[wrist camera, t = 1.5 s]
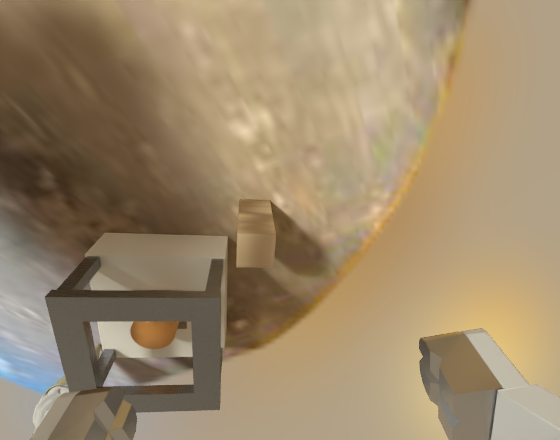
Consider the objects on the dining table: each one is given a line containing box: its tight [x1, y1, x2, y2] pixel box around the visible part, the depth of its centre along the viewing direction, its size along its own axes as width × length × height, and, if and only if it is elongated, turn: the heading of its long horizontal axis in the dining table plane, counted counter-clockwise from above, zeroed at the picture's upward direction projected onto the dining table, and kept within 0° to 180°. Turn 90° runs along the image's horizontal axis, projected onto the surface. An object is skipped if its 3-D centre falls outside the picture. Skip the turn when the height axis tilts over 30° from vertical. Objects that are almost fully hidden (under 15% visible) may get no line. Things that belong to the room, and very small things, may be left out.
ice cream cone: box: [32, 344, 101, 436], centre depth 37 cm, size 5×5×15 cm
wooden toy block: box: [236, 199, 276, 268], centre depth 34 cm, size 4×4×9 cm
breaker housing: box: [85, 233, 228, 358], centre depth 38 cm, size 14×14×5 cm
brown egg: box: [130, 290, 179, 349], centre depth 35 cm, size 4×4×5 cm
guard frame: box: [45, 256, 223, 412], centre depth 33 cm, size 14×14×7 cm
